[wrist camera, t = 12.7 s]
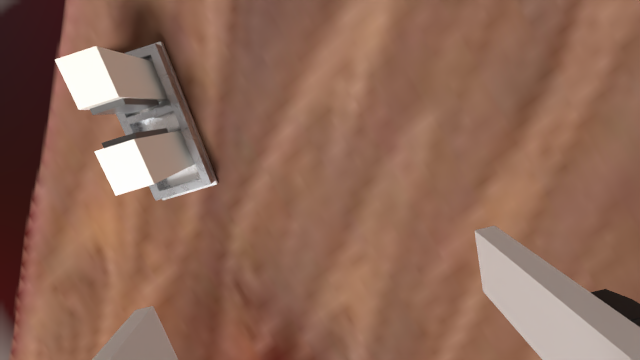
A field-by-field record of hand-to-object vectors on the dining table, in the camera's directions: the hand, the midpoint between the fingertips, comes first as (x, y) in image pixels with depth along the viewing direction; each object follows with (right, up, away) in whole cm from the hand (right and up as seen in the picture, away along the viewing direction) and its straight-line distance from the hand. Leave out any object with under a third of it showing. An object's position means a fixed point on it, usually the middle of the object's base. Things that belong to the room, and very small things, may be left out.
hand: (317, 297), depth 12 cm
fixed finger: (-21, +16, +25) cm, 36 cm away
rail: (-20, +12, +26) cm, 34 cm away
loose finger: (-19, +8, +26) cm, 33 cm away
